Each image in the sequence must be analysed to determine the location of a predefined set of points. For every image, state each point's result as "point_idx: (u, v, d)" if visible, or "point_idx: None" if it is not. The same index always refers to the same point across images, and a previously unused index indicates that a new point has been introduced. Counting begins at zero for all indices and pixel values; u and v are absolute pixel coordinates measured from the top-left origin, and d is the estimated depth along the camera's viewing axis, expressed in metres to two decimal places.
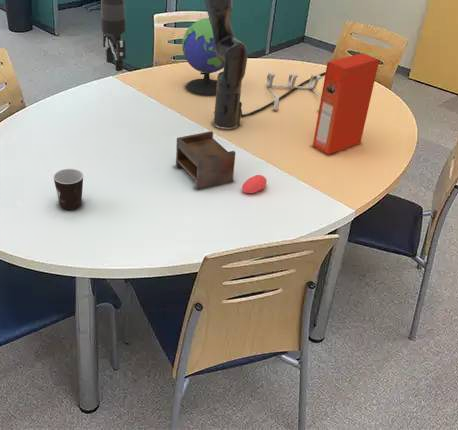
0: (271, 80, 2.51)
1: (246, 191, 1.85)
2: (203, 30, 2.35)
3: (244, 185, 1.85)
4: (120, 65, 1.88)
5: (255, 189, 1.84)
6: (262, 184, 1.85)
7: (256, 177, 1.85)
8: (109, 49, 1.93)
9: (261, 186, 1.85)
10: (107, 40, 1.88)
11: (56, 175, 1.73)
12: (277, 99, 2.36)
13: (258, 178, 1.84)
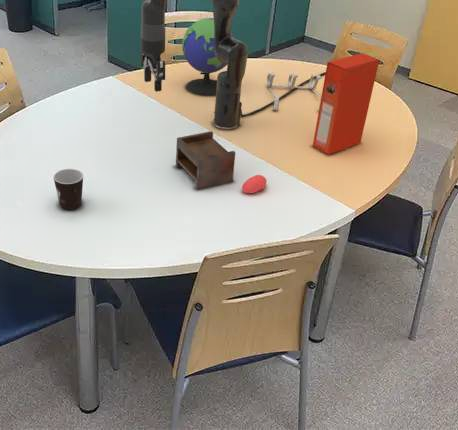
0: (271, 80, 2.51)
1: (246, 191, 1.85)
2: (203, 30, 2.35)
3: (244, 185, 1.85)
4: (159, 85, 1.84)
5: (255, 189, 1.84)
6: (262, 184, 1.85)
7: (256, 177, 1.85)
8: (147, 68, 1.90)
9: (261, 186, 1.85)
10: (146, 60, 1.84)
11: (56, 175, 1.73)
12: (277, 99, 2.36)
13: (257, 178, 1.85)
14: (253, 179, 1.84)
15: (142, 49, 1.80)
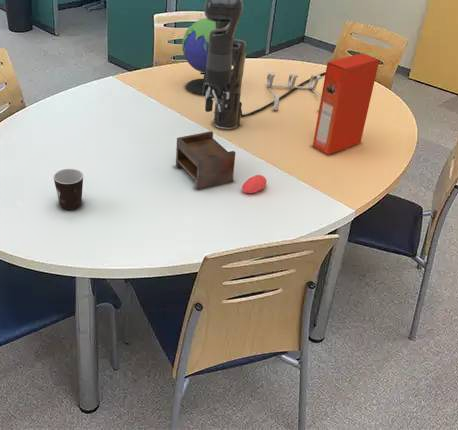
0: (271, 80, 2.51)
1: (246, 191, 1.85)
2: (203, 30, 2.35)
3: (244, 185, 1.85)
4: (223, 117, 1.77)
5: (255, 189, 1.84)
6: (262, 184, 1.85)
7: (256, 177, 1.85)
8: (209, 98, 1.82)
9: (261, 186, 1.85)
10: (210, 90, 1.77)
11: (56, 175, 1.73)
12: (277, 99, 2.36)
13: (257, 178, 1.85)
14: (253, 179, 1.84)
15: (207, 79, 1.73)
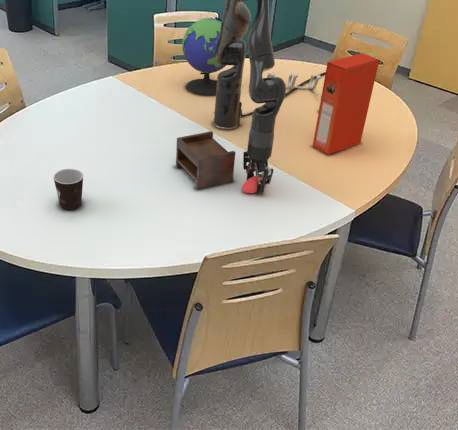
0: None
1: (246, 191, 1.85)
2: (203, 30, 2.35)
3: (244, 185, 1.85)
4: (262, 188, 1.83)
5: (255, 189, 1.84)
6: None
7: (256, 177, 1.85)
8: (251, 172, 1.87)
9: None
10: (251, 162, 1.82)
11: (56, 175, 1.73)
12: None
13: None
14: (253, 179, 1.84)
15: (249, 154, 1.78)
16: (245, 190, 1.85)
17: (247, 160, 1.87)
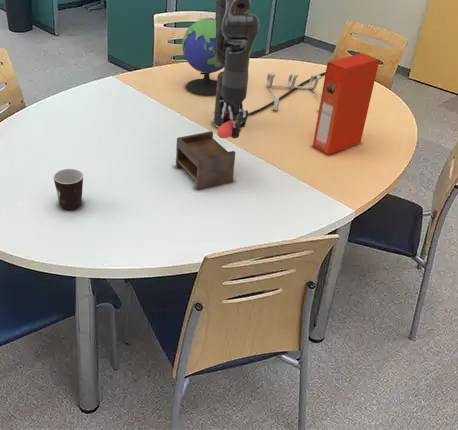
0: (271, 80, 2.51)
1: (221, 136, 1.80)
2: (203, 30, 2.35)
3: (219, 129, 1.80)
4: (237, 132, 1.79)
5: (230, 133, 1.80)
6: None
7: (231, 121, 1.80)
8: (226, 117, 1.83)
9: None
10: (226, 105, 1.78)
11: (56, 175, 1.73)
12: (277, 99, 2.36)
13: None
14: (228, 123, 1.80)
15: (223, 96, 1.74)
16: (220, 135, 1.80)
17: (222, 104, 1.82)
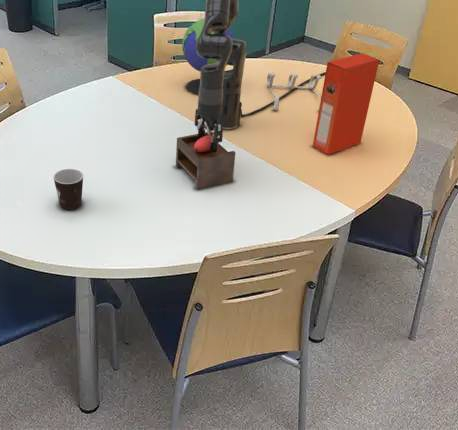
0: (271, 80, 2.51)
1: (197, 150, 1.87)
2: None
3: (195, 144, 1.87)
4: (215, 147, 1.84)
5: (206, 148, 1.86)
6: None
7: (207, 136, 1.87)
8: (201, 128, 1.90)
9: None
10: (202, 121, 1.84)
11: (56, 175, 1.73)
12: (277, 99, 2.36)
13: (209, 138, 1.87)
14: (204, 138, 1.86)
15: (199, 112, 1.80)
16: (196, 149, 1.87)
17: (198, 117, 1.89)
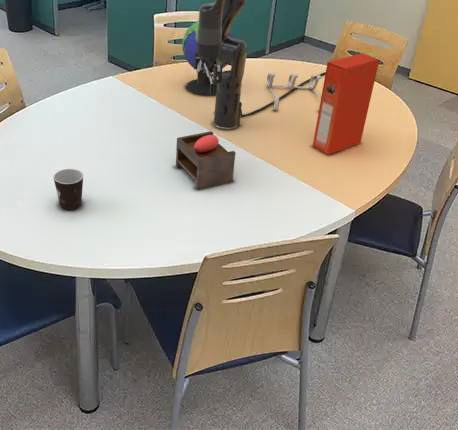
0: (271, 80, 2.51)
1: (197, 150, 1.87)
2: None
3: (195, 144, 1.87)
4: (215, 89, 1.85)
5: (206, 148, 1.86)
6: (213, 143, 1.87)
7: (207, 136, 1.87)
8: (201, 71, 1.91)
9: (212, 145, 1.87)
10: (201, 63, 1.85)
11: (56, 175, 1.73)
12: (277, 99, 2.36)
13: (209, 138, 1.87)
14: (204, 138, 1.86)
15: (198, 53, 1.81)
16: (196, 149, 1.87)
17: (198, 60, 1.90)
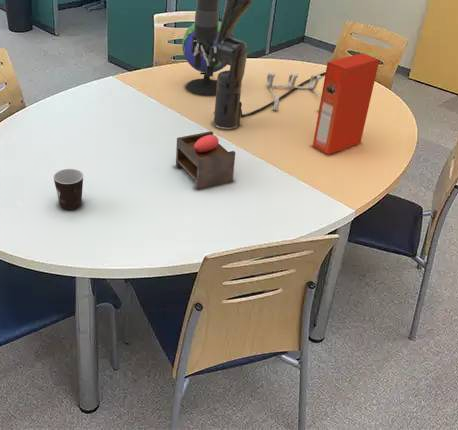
0: (271, 80, 2.51)
1: (197, 150, 1.87)
2: None
3: (195, 144, 1.87)
4: (211, 71, 1.90)
5: (206, 148, 1.86)
6: (213, 143, 1.87)
7: (207, 136, 1.87)
8: (198, 55, 1.96)
9: (212, 145, 1.87)
10: (198, 46, 1.90)
11: (56, 175, 1.73)
12: (277, 99, 2.36)
13: (209, 138, 1.87)
14: (204, 138, 1.86)
15: (196, 35, 1.86)
16: (196, 149, 1.87)
17: (195, 44, 1.95)
